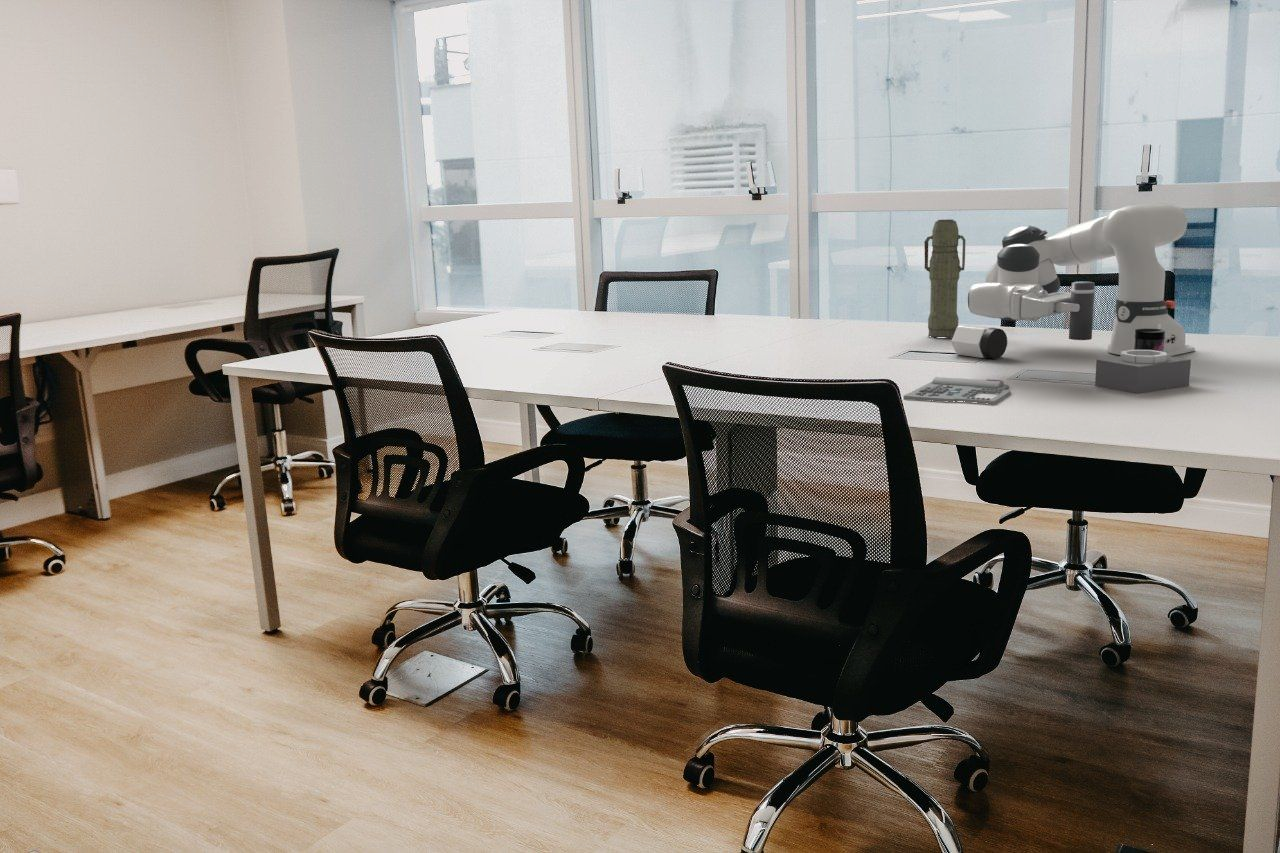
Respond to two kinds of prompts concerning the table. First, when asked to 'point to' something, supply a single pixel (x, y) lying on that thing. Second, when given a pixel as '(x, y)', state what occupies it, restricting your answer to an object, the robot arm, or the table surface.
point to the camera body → (1142, 371)
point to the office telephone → (959, 390)
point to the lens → (1082, 310)
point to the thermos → (944, 277)
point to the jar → (979, 341)
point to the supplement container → (1149, 339)
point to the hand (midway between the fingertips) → (1086, 306)
